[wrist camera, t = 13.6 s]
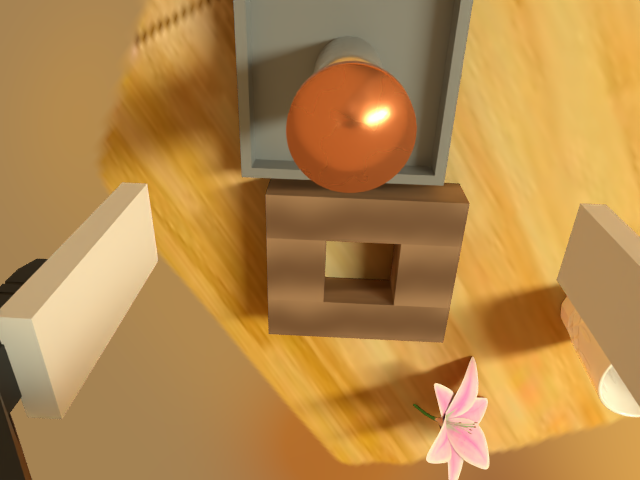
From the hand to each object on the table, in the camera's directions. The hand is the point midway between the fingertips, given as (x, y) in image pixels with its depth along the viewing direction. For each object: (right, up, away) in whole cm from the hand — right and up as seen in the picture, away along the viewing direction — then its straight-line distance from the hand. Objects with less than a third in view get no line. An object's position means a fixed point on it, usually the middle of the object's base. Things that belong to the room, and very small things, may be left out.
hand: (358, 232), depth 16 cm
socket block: (+2, -1, +31) cm, 31 cm away
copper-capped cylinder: (+1, +12, +23) cm, 26 cm away
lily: (+13, -17, +40) cm, 45 cm away
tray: (+1, +13, +23) cm, 27 cm away
